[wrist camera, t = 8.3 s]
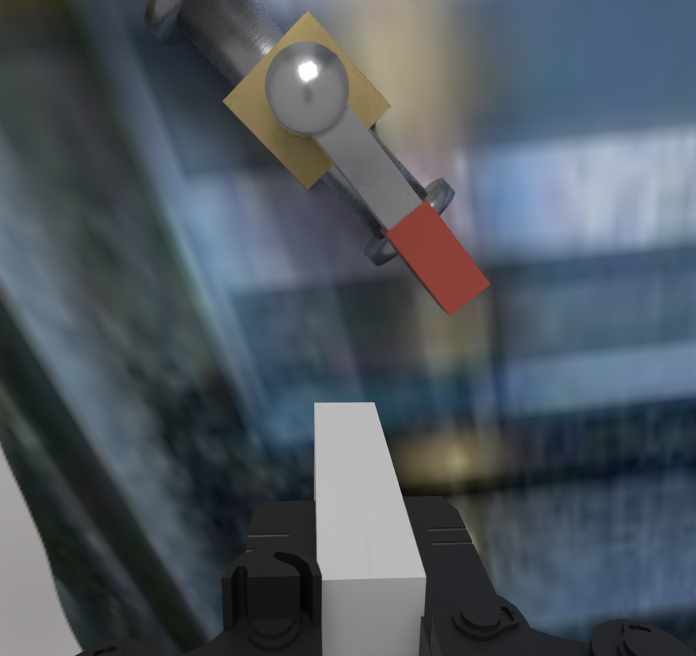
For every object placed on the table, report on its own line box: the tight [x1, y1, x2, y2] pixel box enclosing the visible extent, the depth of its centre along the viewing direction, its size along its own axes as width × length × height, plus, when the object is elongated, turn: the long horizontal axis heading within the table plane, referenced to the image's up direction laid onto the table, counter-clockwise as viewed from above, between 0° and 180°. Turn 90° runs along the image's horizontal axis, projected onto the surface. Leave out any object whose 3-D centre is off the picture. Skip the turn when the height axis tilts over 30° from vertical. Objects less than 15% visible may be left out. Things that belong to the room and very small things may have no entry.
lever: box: [265, 42, 490, 316], centre depth 26 cm, size 14×4×2 cm, turn 39°
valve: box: [145, 0, 455, 266], centre depth 31 cm, size 18×6×9 cm, turn 44°
